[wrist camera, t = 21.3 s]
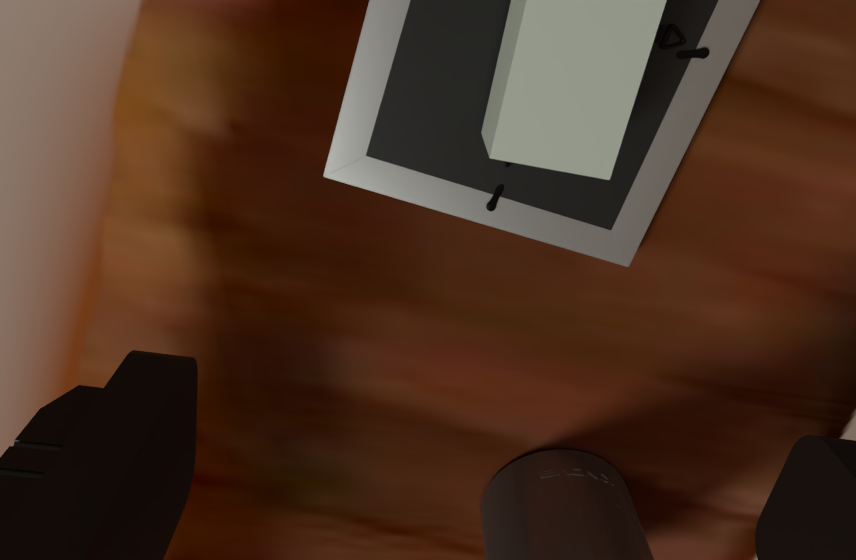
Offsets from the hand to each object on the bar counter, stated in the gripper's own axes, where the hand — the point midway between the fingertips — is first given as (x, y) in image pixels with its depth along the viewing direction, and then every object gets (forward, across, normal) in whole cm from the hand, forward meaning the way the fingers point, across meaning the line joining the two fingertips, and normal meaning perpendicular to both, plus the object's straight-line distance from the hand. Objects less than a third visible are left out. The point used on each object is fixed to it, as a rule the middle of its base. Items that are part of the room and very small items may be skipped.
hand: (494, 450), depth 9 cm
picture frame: (+26, -5, -5) cm, 27 cm away
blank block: (+24, -5, -4) cm, 24 cm away
